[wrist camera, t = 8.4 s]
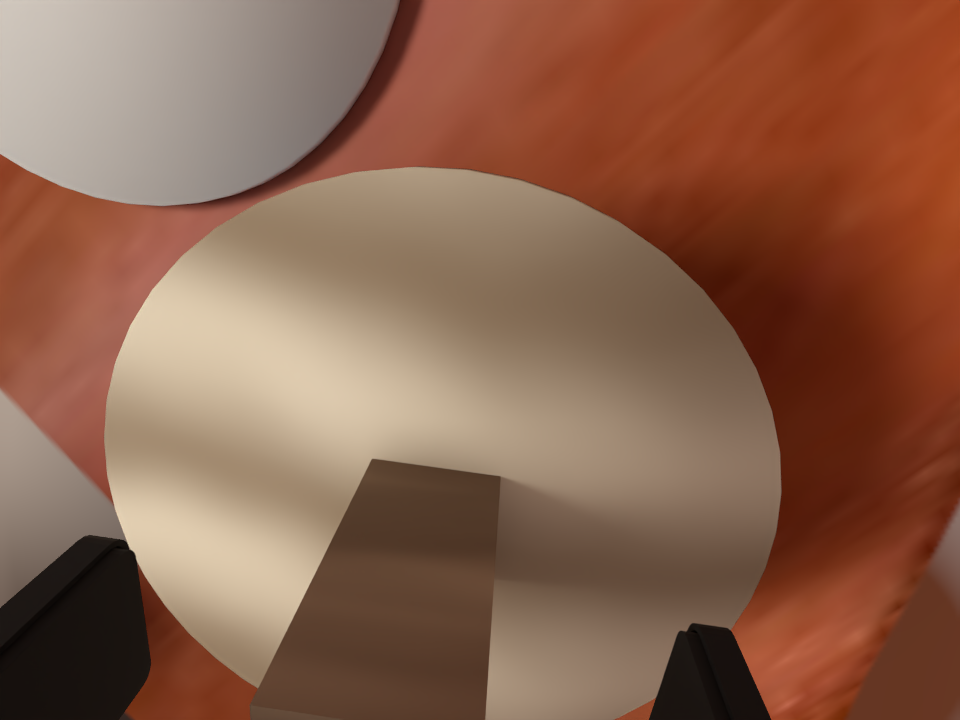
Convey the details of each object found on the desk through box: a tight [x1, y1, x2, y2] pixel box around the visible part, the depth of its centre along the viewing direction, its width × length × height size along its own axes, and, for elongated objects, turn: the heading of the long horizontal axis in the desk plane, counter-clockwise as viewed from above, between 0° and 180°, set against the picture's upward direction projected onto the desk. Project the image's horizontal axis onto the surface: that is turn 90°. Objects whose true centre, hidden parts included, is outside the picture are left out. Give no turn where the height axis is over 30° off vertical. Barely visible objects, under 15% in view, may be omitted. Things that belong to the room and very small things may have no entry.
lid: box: [104, 167, 781, 720], centre depth 11 cm, size 16×16×7 cm
